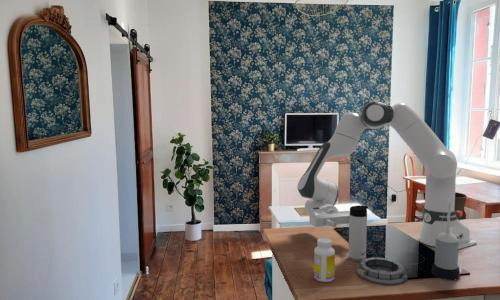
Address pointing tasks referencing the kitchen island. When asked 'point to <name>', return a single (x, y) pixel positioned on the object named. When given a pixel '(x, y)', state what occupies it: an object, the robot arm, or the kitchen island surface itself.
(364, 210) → the travel mug
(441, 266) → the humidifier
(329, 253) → the supplement bottle
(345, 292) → the kitchen island surface
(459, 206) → the plant pot
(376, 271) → the collar
